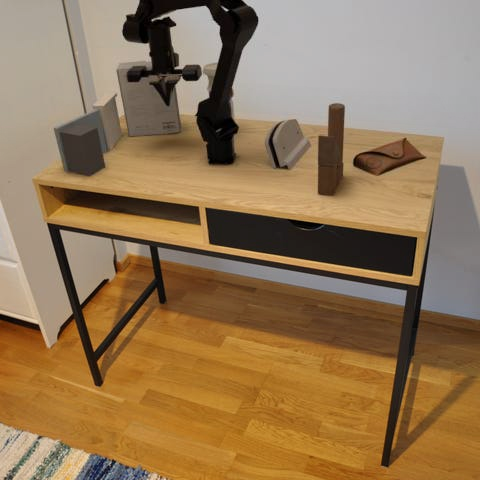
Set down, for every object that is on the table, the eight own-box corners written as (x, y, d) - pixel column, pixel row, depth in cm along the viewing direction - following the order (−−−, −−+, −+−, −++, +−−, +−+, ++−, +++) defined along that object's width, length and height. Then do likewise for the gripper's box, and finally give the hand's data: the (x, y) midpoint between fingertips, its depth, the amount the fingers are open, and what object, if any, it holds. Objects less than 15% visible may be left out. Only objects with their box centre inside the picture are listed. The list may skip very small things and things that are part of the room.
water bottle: (226, 125, 167) (220, 39, 154) (242, 133, 161) (237, 43, 148) (203, 132, 163) (194, 44, 150) (218, 140, 157) (211, 49, 144)
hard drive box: (181, 124, 170) (173, 57, 160) (180, 133, 164) (172, 64, 153) (130, 128, 170) (119, 61, 159) (127, 137, 163) (115, 69, 153)
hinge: (290, 170, 138) (276, 133, 134) (273, 174, 140) (259, 137, 137) (311, 145, 150) (299, 110, 147) (295, 148, 153) (283, 114, 149)
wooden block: (317, 194, 126) (318, 118, 117) (328, 174, 135) (330, 101, 125) (333, 196, 125) (335, 119, 116) (343, 176, 134) (346, 102, 124)
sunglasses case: (377, 177, 132) (368, 150, 131) (358, 182, 138) (349, 156, 137) (429, 156, 140) (421, 131, 139) (409, 162, 146) (401, 138, 145)
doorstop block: (105, 167, 146) (97, 127, 140) (89, 176, 142) (80, 135, 136) (85, 163, 149) (76, 123, 144) (69, 171, 145) (59, 131, 139)
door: (109, 150, 156) (101, 108, 149) (67, 172, 145) (56, 128, 138) (101, 148, 157) (92, 107, 151) (59, 170, 146) (48, 126, 140)
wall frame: (124, 135, 165) (117, 92, 158) (112, 150, 156) (103, 105, 149) (114, 135, 166) (106, 92, 159) (101, 150, 156) (92, 105, 149)
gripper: (203, 36, 145) (208, 95, 154) (134, 38, 148) (143, 96, 156) (194, 47, 136) (200, 109, 144) (121, 49, 139) (131, 110, 147)
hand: (168, 105), depth 148 cm, fingers closed
